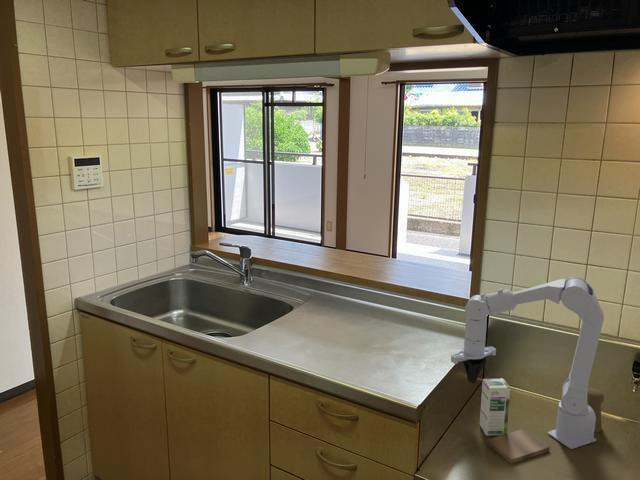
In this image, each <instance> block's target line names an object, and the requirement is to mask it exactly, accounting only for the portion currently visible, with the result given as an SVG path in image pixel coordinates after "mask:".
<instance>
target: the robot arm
mask: <svg viewBox="0 0 640 480" xmlns="http://www.w3.org/2000/svg"><path fill="white" fill-rule="evenodd" d="M544 300H548V301H551V302H552V303H555V304H557V305H560V301H561V303H562V304H563V306H564V307H565V308H567V309H568V310H569V311H571V312H573V313H574V314H577V316H578V317H579V318H580V319H581V321H582V322H581V326H580V330H579V335H578V338H577V342H576V348H575V351H574V356H573V360H572V363H571V364H572V365H571V368H570V372H569V374H568V377H567V379H566V380H565V381H563V384H562V385H561V386H562V387H561V388H562V393H561V399H560V401H559V402H558V407H557V413H556V414H557V415H556V423H555V424H556V425H555V429H551V430H549V431H547V434H548V435H549V436H551V437H552V438H553V439H555V440H557V441H558V442H560V443H561V444H562V445H564V446H566V447H567V448H568V449H570V450H573V449H576V448H579V447H583V446H585V445H588V444H591V443H595V442H597V439H596V437H594V435H595V432H594V430H595V422H596V416H595V413H594V411H593V409H592V408H591V407H590V406H589V405H588V403H587V394H588V388H589V381H590V377H591V374H592V369H593V364H594V361H595V357H596V353H597V348H598V345H599V340H600V336H601V333H602V330H603V329H602V328H603V325H604V321H605V318H604V317H605V314H604V311H603V309H602V307H601V305H600V303H599V301H598V298H597V296H596V293H595V291H594V288H593V287H592V286H591V285H590V284H589V283H588V282H587V281H586V280H585V279H583V278H581V277H578V276H572V277H569V278H567V279H566V278H561V279H556V280H554V281H549V282H547V283H546V282H545V283H543V284H538V285H535V286H532V287H529V288H524V289H521V290H517V291H512V290H510V289H504V288H503V287H501V288H498V289H497V291H495V292H491V293H486V294H485V292H483V293H481V294H475V295H472V296H471V297H470V299H469V300H467V303H466V304H465V306H464V313H465V315H466V317H465V318H466V320H465V325H464V326H465V328H464V340H463V347H462V349H461V350H460V351H457V352H456V353H453V354H451V355H450V362H452V363H453V364H454V365H457V364H458V363H460V362H461V363H462V365H463V367H464V369H465V372H466V377H467V378H466V379H467V381H468V382H469V383H471V384H475V383H477V381H478V377H479V375H480V373H481V371H482V369H483V367H485V365H486V363H487V360H486V359H484V358H485V357H487V356H497V355H496V354H497V348H495V347H494V346H486V339H487V337H486V335H487V326H488V325H487V317H488V315H489V316H491V315H492V316H493V315H496V314H500V313H506V312H509V311H514V310H515V308H516V307H517V306H518V305H521V304H528V303H531V302H537V301H544Z"/></svg>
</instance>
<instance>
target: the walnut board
mask: <svg viewBox="0 0 640 480" xmlns="http://www.w3.org/2000/svg"><path fill="white" fill-rule="evenodd" d="M485 444H486V445H487V446H488V447H489V448H491V449H492V450H493V451H494V452H495V453H497V454H498V455H499V456H501V457H502V458H503V459H504V460H505V461H506V462H508V463H509V464H511V465H512V464H514V463H517V462H521V461H524V460H527V459H529V458H533V457H535V456H538V455H539V456H540V455H541V454H544V453H548V452H550V450H551V449H550V448H551V447H550V446H549V445H548V444H546V443H545V442H543V441H542V440H540V439H539V438H538V437H536V436H535V435H534V434H532V433H531V432H530V431H528V430H527V429H525V428H520V429H518V430H515V431H512V432H507V434H504V435H501V436H494V437H491V438H488V439H486V442H485Z"/></svg>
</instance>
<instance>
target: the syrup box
mask: <svg viewBox="0 0 640 480" xmlns="http://www.w3.org/2000/svg"><path fill="white" fill-rule="evenodd" d="M481 385H482V386H481V399H480V401H481V402H480V417H479V426H480V428H481V429H482V432H483V433H484V435H485V436H486V437H489V436H490V437H493V436H494V437H498V436H501V435H504V434H508V422H509V421H508V419H509V409H510V398H511V387H510V385H509V384H508V382H507V381H506V380H505V379H504V378H503V377H501V378H482V383H481Z"/></svg>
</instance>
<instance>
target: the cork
mask: <svg viewBox="0 0 640 480" xmlns="http://www.w3.org/2000/svg"><path fill="white" fill-rule="evenodd" d="M604 401H605V396H604V393H603V391H601V390H599V389H597V388H593V387H588V394H587V403H588V405H589V406H590V407H591V408H592V409H593V411H594V413H595V416H596V422H595V430H594V433H600V432H601V431H602V428H603V427H602V403H604Z"/></svg>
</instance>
